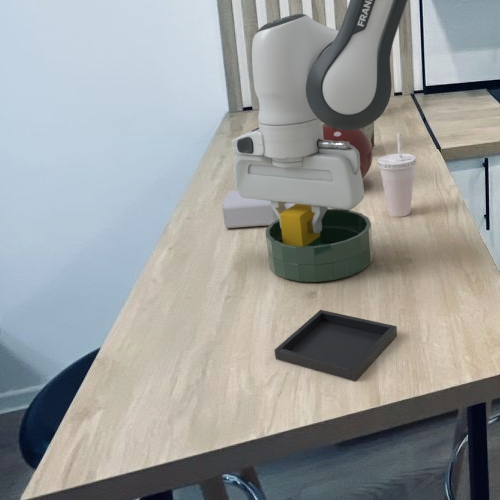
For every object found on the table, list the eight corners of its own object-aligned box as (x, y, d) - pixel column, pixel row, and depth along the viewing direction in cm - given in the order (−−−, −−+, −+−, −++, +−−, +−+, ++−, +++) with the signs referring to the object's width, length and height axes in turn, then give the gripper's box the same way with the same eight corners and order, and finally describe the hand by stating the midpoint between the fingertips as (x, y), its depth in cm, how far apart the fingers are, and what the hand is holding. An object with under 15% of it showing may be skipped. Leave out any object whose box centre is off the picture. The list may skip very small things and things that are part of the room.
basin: (390, 251, 99) (388, 214, 97) (340, 294, 88) (337, 253, 86) (304, 239, 108) (301, 204, 105) (250, 276, 97) (245, 239, 95)
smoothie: (411, 221, 109) (408, 138, 104) (374, 218, 112) (369, 138, 107) (423, 208, 114) (421, 128, 109) (388, 205, 117) (384, 128, 112)
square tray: (397, 338, 76) (396, 326, 75) (355, 385, 69) (354, 371, 68) (321, 321, 82) (320, 309, 81) (275, 362, 75) (274, 349, 74)
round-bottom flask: (296, 187, 134) (286, 88, 127) (353, 173, 138) (346, 76, 130) (326, 203, 123) (317, 95, 115) (387, 187, 126) (382, 82, 119)
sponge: (321, 242, 99) (317, 204, 97) (303, 254, 96) (299, 216, 93) (301, 239, 101) (297, 202, 99) (283, 251, 98) (279, 213, 95)
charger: (310, 224, 114) (225, 230, 116) (312, 206, 122) (233, 212, 125) (307, 198, 112) (221, 205, 114) (310, 182, 120) (230, 188, 123)
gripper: (369, 135, 88) (374, 230, 94) (248, 130, 100) (258, 215, 106) (346, 148, 84) (353, 247, 89) (222, 141, 96) (234, 229, 101)
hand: (300, 229), depth 97 cm, fingers closed on sponge, 3 cm apart
